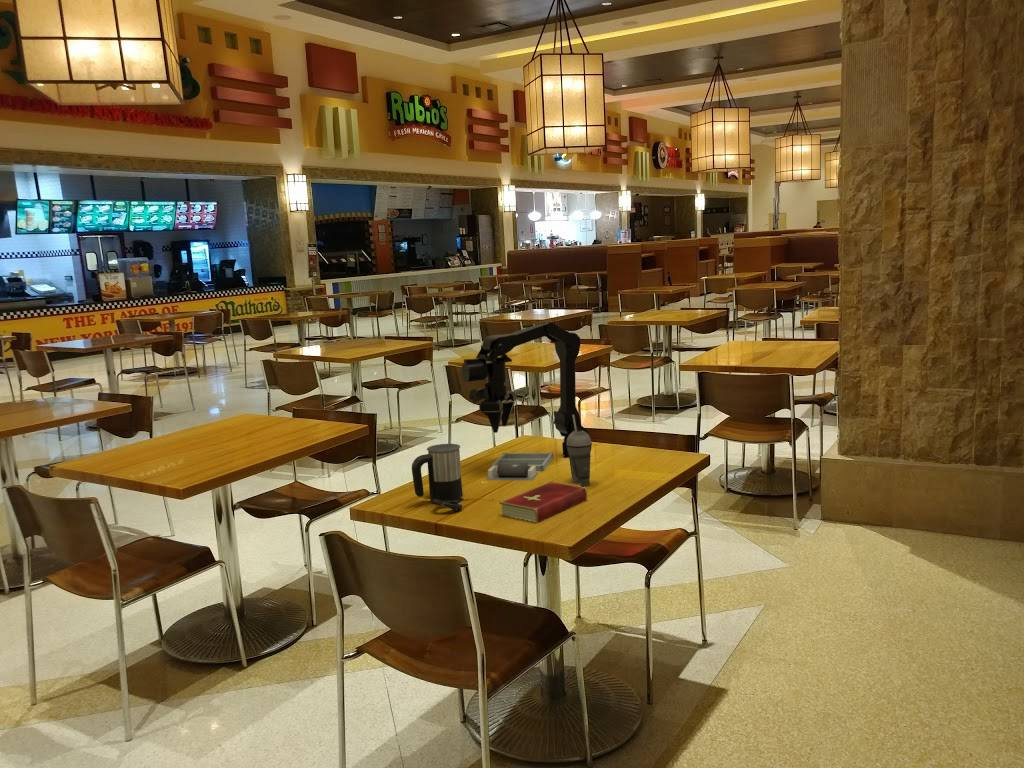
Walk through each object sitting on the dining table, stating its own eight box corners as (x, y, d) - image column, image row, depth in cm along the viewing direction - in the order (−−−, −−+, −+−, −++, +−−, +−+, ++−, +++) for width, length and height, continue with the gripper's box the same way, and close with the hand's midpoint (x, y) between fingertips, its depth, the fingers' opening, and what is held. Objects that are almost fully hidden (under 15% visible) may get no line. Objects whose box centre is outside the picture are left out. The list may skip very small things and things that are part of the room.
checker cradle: (538, 475, 244) (538, 464, 244) (532, 483, 237) (532, 472, 236) (493, 475, 248) (492, 464, 247) (485, 483, 240) (484, 471, 240)
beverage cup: (592, 488, 228) (589, 417, 225) (566, 488, 230) (562, 417, 227) (595, 480, 235) (592, 411, 232) (570, 480, 237) (566, 412, 234)
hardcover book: (587, 501, 218) (586, 486, 217) (537, 525, 203) (536, 508, 202) (551, 495, 226) (550, 480, 225) (500, 517, 210) (499, 501, 210)
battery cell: (528, 474, 243) (528, 461, 242) (525, 478, 239) (524, 464, 238) (499, 474, 245) (498, 461, 244) (495, 478, 241) (494, 464, 241)
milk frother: (449, 492, 233) (445, 441, 231) (487, 502, 222) (483, 448, 220) (409, 506, 223) (404, 452, 221) (446, 516, 212) (442, 460, 210)
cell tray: (553, 460, 260) (553, 453, 260) (543, 474, 246) (542, 466, 245) (504, 460, 264) (503, 453, 264) (491, 474, 250) (490, 465, 249)
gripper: (481, 373, 259) (484, 422, 261) (460, 383, 241) (464, 436, 244) (515, 373, 256) (518, 422, 258) (497, 383, 238) (500, 436, 241)
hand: (500, 429), depth 250 cm, fingers open, 9 cm apart
